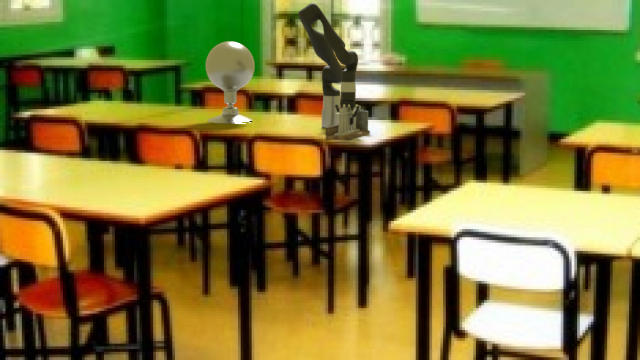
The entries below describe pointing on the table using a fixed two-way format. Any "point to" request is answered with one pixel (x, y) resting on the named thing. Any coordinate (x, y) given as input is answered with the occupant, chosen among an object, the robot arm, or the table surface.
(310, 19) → the robot arm
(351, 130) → the long lego plate
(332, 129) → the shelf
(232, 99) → the desk lamp
